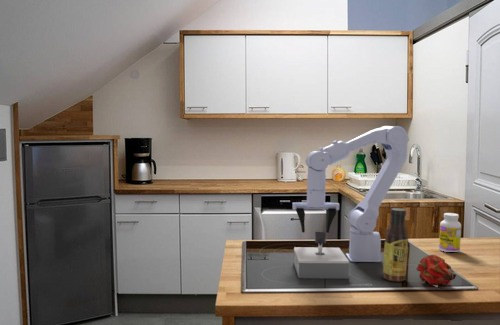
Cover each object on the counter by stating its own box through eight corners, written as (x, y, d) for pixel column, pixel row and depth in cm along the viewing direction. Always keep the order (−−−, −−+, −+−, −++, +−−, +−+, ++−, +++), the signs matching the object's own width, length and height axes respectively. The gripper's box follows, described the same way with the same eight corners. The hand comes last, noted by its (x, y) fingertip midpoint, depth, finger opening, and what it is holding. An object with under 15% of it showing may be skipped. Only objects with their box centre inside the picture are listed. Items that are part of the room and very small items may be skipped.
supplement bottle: (434, 250, 162) (436, 213, 160) (445, 247, 165) (447, 211, 164) (453, 254, 156) (455, 217, 155) (463, 251, 160) (465, 214, 159)
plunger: (335, 253, 144) (335, 227, 143) (342, 264, 133) (343, 236, 132) (299, 252, 144) (299, 227, 143) (303, 263, 133) (304, 236, 132)
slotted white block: (338, 263, 146) (339, 247, 145) (348, 278, 132) (348, 261, 131) (293, 262, 145) (294, 247, 145) (298, 278, 132) (299, 260, 131)
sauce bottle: (394, 284, 127) (396, 212, 126) (377, 277, 133) (380, 208, 131) (411, 280, 130) (414, 210, 129) (395, 274, 136) (397, 206, 134)
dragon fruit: (422, 281, 135) (448, 302, 123) (403, 266, 132) (428, 287, 121) (441, 258, 134) (469, 277, 123) (422, 243, 132) (449, 261, 120)
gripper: (336, 187, 151) (335, 229, 152) (292, 187, 151) (291, 228, 152) (341, 191, 144) (339, 234, 145) (294, 190, 144) (293, 234, 145)
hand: (315, 231), depth 148 cm, fingers open, 7 cm apart
